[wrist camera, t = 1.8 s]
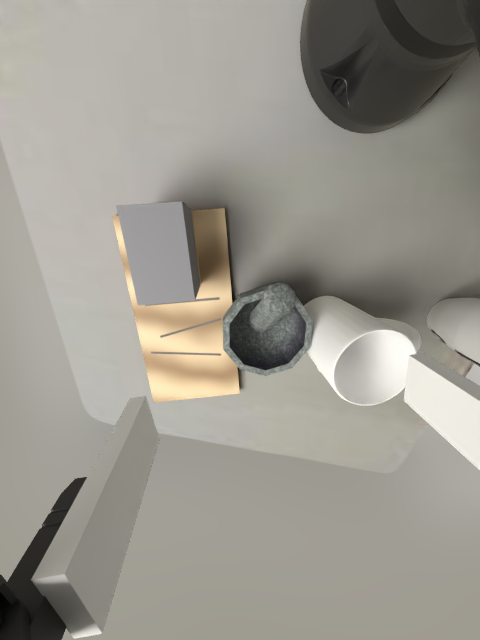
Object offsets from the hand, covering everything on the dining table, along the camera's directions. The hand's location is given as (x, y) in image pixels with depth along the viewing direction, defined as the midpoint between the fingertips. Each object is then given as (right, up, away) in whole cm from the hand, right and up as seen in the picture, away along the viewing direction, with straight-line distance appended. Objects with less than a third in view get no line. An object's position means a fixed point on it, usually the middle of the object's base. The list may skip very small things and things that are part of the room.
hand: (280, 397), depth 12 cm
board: (-9, +5, +19) cm, 22 cm away
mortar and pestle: (0, +5, +20) cm, 21 cm away
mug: (+11, +4, +21) cm, 24 cm away
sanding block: (-9, +12, +16) cm, 22 cm away
